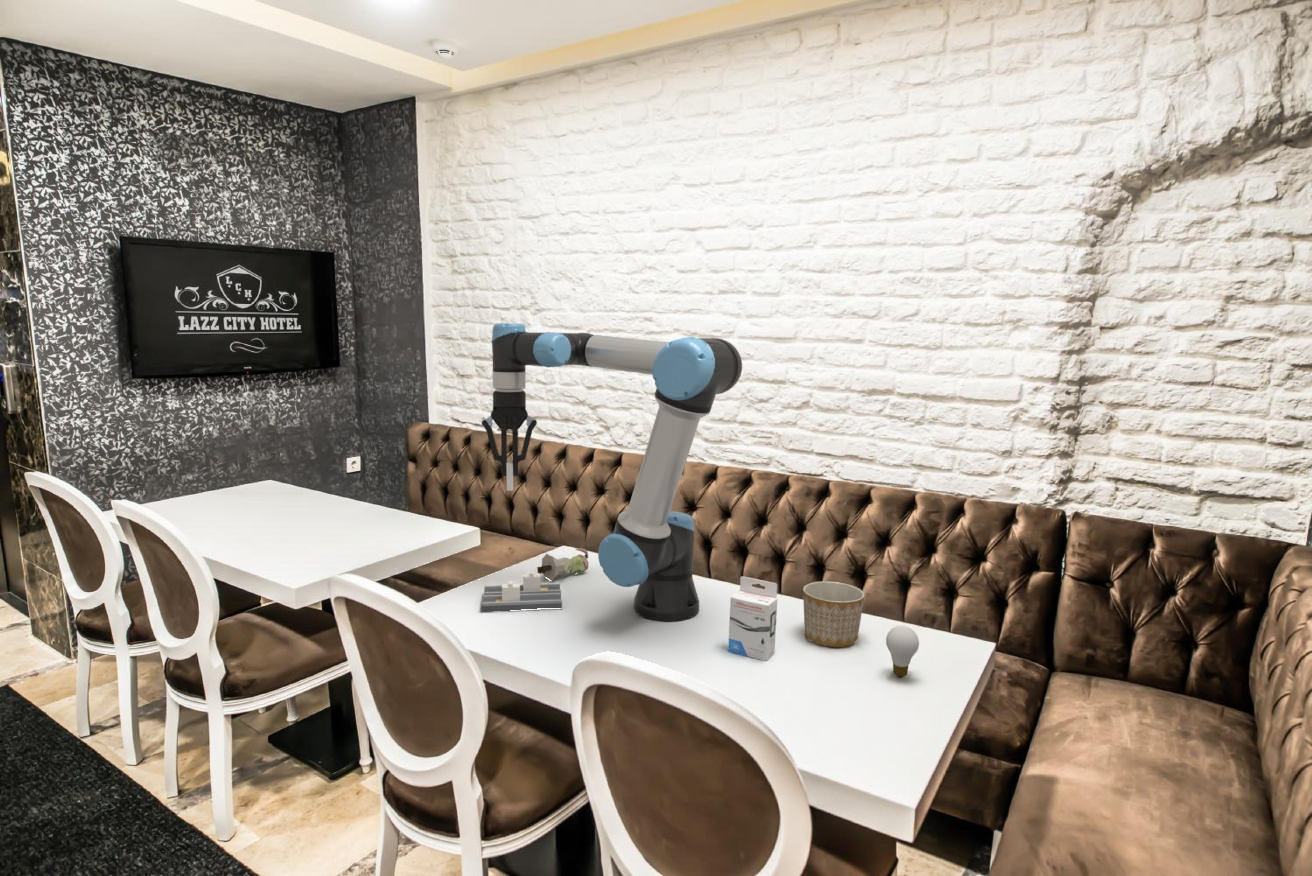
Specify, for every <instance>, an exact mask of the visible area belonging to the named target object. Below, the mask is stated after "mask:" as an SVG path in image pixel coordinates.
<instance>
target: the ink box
mask: <svg viewBox="0 0 1312 876" xmlns="http://www.w3.org/2000/svg"><path fill="white" fill-rule="evenodd" d="M758 584H759V586H761V587H764V588H760V587H757V586H753V585H758ZM739 589H740V590H738V591H737V592H735V593H734V594H732V595H731V596H730V604H729V605H730V608H729V623H728V624H729V626H728V647H727V650H728V652H730V653H734V654H737V655H741V656H745V657H749V658H753V659H757V660H760V661H764V662H766V661H768V660H769V659H770V658H771V657H772V655H773V654H774V653H775V649H776V634H777V633H776V632H777V613H778V612H777V611H778V598H777V595H778V584H777V583H776V582H772V581H767V580H762V579H757V578H753V577H747V576H744V575H743V576H740V577H739Z"/></svg>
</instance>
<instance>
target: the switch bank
mask: <svg viewBox="0 0 1312 876" xmlns="http://www.w3.org/2000/svg"><path fill="white" fill-rule="evenodd" d="M561 590H562V589H561V583H560V582H559V583H540V590H535V591H523V584H520V601H505V602H502V584H501V585H500V584H499V585H484V591H483V593H482V594H483V595H482V602H481V613H494V612H493V611H508V612H511V611H510V610H521V609H537V608H562V609H563V600H562V591H561Z"/></svg>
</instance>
